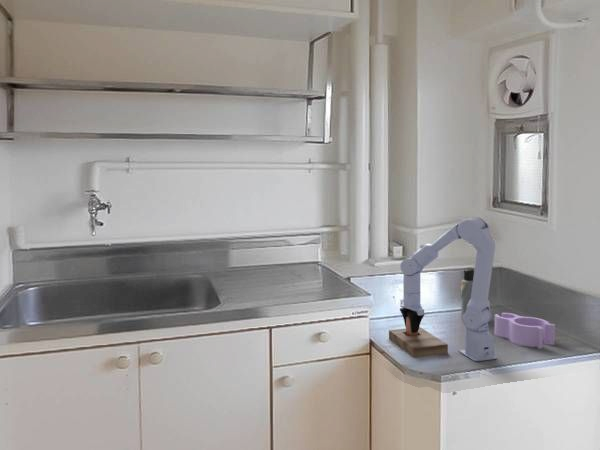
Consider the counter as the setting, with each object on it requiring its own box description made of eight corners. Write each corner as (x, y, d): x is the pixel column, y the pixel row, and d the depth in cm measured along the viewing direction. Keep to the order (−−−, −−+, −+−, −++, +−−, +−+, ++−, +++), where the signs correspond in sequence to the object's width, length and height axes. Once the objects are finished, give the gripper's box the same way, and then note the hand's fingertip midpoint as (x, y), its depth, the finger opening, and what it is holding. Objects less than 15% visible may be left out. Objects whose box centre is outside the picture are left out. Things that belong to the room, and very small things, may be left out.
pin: (419, 338, 188) (420, 318, 187) (409, 339, 187) (409, 319, 186) (414, 334, 192) (414, 315, 191) (404, 335, 191) (404, 316, 190)
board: (447, 353, 178) (447, 344, 177) (413, 357, 175) (413, 348, 174) (419, 335, 197) (419, 327, 196) (388, 338, 194) (388, 330, 194)
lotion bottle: (478, 317, 217) (479, 268, 215) (471, 320, 213) (472, 270, 211) (465, 315, 221) (465, 266, 219) (458, 318, 217) (458, 268, 215)
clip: (486, 335, 196) (487, 316, 195) (509, 329, 202) (509, 310, 201) (536, 350, 179) (537, 330, 178) (559, 343, 185) (560, 323, 184)
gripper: (392, 288, 194) (392, 325, 195) (410, 297, 180) (410, 337, 181) (410, 286, 195) (410, 323, 197) (429, 296, 181) (429, 335, 183)
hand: (411, 330), depth 189 cm, fingers closed on pin, 4 cm apart
